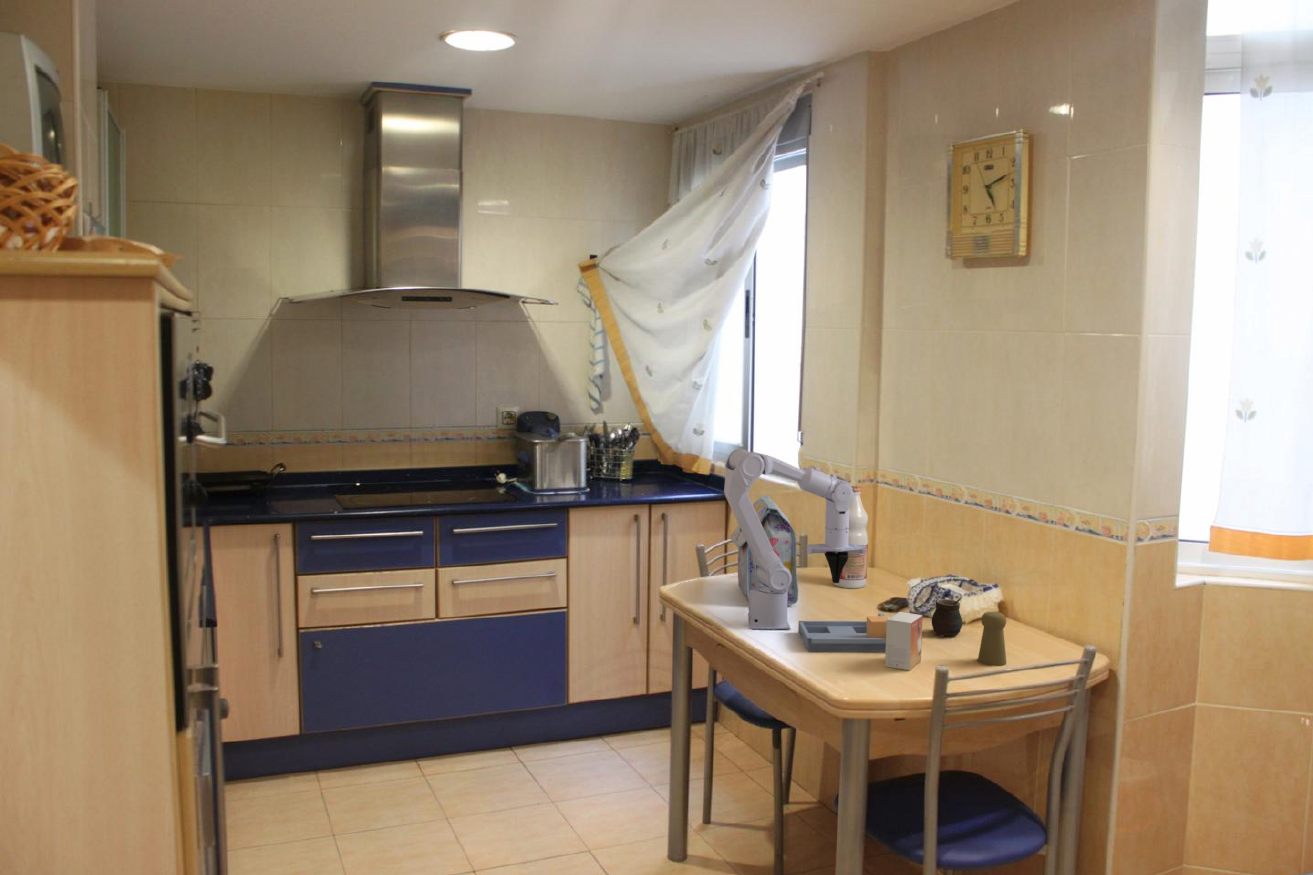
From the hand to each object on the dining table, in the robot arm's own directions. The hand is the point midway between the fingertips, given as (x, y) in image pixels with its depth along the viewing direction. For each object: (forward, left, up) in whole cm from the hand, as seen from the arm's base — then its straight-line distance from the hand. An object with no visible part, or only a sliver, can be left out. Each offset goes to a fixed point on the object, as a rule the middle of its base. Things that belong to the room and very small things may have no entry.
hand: (835, 582), depth 269 cm
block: (+6, -21, -8) cm, 23 cm away
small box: (+9, -34, -10) cm, 37 cm away
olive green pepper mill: (+29, -32, -10) cm, 44 cm away
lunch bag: (-15, +24, -10) cm, 30 cm away
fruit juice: (+11, +38, -10) cm, 41 cm away
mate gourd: (+25, -11, -10) cm, 29 cm away
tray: (0, -18, -10) cm, 21 cm away
